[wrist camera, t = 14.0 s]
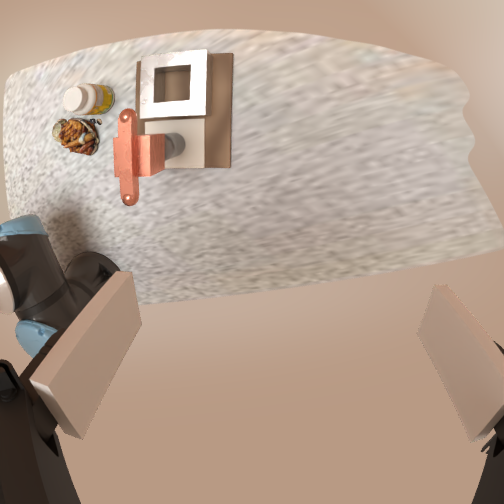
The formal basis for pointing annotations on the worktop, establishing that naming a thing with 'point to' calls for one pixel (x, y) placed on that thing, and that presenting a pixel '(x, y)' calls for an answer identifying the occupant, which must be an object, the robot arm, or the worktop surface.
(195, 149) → the mat
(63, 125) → the brown mottled lumpy part
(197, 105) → the eye block
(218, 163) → the board
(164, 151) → the copper link bar
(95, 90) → the supplement bottle
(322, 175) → the worktop surface
